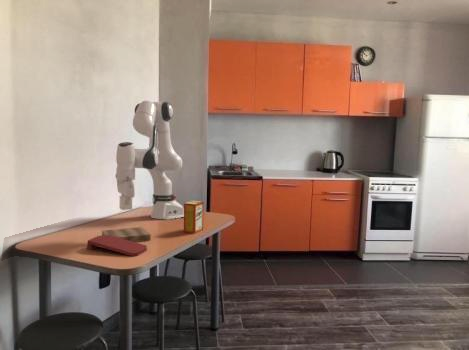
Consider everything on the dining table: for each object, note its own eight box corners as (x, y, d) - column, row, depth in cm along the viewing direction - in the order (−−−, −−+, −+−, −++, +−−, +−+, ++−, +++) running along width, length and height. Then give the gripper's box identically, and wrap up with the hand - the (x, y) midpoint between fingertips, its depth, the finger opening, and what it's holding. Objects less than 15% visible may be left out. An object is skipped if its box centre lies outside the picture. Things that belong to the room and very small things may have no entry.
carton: (147, 256, 184) (100, 242, 191) (149, 246, 184) (101, 232, 190) (134, 264, 173) (83, 249, 179) (135, 253, 172) (85, 239, 178)
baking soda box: (194, 233, 213) (195, 203, 212) (183, 232, 216) (184, 202, 214) (202, 229, 222) (203, 200, 220) (192, 228, 225) (192, 199, 223)
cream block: (129, 207, 202) (129, 195, 202) (132, 209, 198) (132, 197, 197) (119, 208, 200) (119, 196, 199) (121, 210, 196) (121, 197, 195)
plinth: (141, 232, 212) (141, 227, 212) (150, 240, 198) (150, 234, 198) (102, 236, 203) (101, 230, 203) (108, 244, 189) (108, 238, 189)
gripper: (137, 178, 190) (137, 207, 191) (127, 173, 208) (127, 200, 209) (124, 178, 187) (124, 208, 188) (114, 173, 205) (114, 201, 206)
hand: (125, 204), depth 199 cm, fingers closed on cream block, 5 cm apart
